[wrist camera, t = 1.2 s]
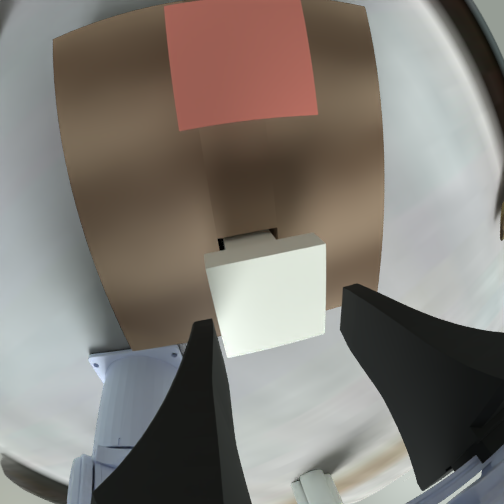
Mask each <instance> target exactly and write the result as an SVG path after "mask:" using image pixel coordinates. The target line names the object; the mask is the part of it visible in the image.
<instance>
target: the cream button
mask: <svg viewBox="0 0 504 504" xmlns="http://www.w3.org/2000/svg"><path fill="white" fill-rule="evenodd" d="M223 243H224V248H225V250H222V251H217V252H212V253H207V254H204V261H205V268H206V273H207V277H208V282H209V286H210V290H211V295H212V299H213V303H214V307H215V311H216V315H217V319H218V323H219V327H220V331H221V335H222V339H223V343H224V347H225V351H226V354H227V358H231V357H235V356H240V355H244V354H249V353H253V352H258V351H262V350H266V349H270V348H274V347H278V346H282V345H286V344H290V343H293V342H297V341H301V340H304V339H308V338H311V337H315V336H318V335H322V334H325V310H326V243H325V242H323V241H322V240H321V239H320V238H319V237H318V236H317V235H316V234H314V233H308V234H303V235H298V236H292V237H287V238H282V239H277V240H276V239H275V237H274V236H273V235H272V233H271V232H270V231H269V229H266V230H260V231H255V232H250V233H245V234H240V235H235V236H230V237H224V238H223Z"/></svg>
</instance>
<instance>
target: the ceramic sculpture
mask: <svg viewBox="0 0 504 504" xmlns="http://www.w3.org/2000/svg"><path fill="white" fill-rule="evenodd" d="M500 239H501V241H502V240H503V239H504V201H503V204H502V208H501V222H500Z"/></svg>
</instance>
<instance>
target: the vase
mask: <svg viewBox="0 0 504 504" xmlns="http://www.w3.org/2000/svg"><path fill="white" fill-rule="evenodd" d="M291 487H292V489H293V492H294V495H295V498H296V501H297V504H343V502H342V500H341V497H340V495H339V493H338V491H337V488H336V486H335V484H334V481H333V479H332V477H331V475H330V474H324V473H323V471H322V470H313V471H310V472H307V473H305V474H303V475H301V476H300V481H296V482H293V483H292V484H291Z"/></svg>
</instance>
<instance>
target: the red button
mask: <svg viewBox="0 0 504 504" xmlns="http://www.w3.org/2000/svg"><path fill="white" fill-rule="evenodd" d="M164 13H165V24H166V34H167V44H168V53H169V61H170V70H171V78H172V85H173V93H174V100H175V107H176V114H177V120H178V127H179V131H186V130H191V129H197V128H202V127H208V126H214V125H221V124H228V123H235V122H242V121H251V120H260V119H270V118H281V117H295V116H309V115H318V108H317V100H316V91H315V83H314V76H313V69H312V62H311V55H310V49H309V43H308V37H307V31H306V26H305V20H304V15H303V10H302V5H301V0H200V1H192V2H185V3H179V4H173V5H167V6H164Z"/></svg>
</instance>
